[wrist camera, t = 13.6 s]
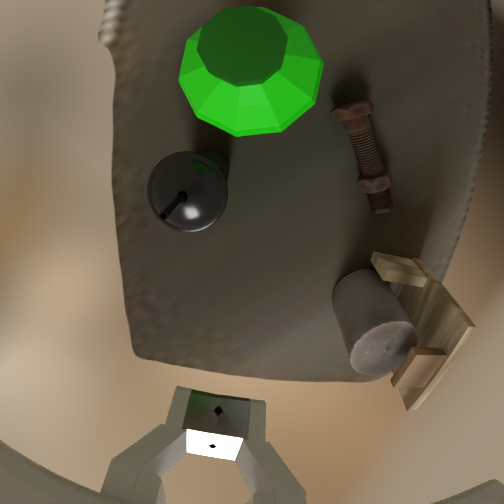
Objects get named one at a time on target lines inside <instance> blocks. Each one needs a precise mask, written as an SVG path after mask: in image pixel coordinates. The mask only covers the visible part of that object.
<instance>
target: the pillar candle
mask: <svg viewBox="0 0 504 504" xmlns="http://www.w3.org/2000/svg"><path fill="white" fill-rule="evenodd" d="M332 303H333V309H334V312H335V315H336V317H337V320H338V323H339V327H340V330H341V333H342V336H343V339H344V342H345V345H346V349H347V352H348V355H349V358H350V362H351V365H352V367H353V368H354V369H355V370H356V371H357V372H359V373H361V374H365V375H370V376H371V375H381V374H384V373H387V372H390V371H392V370H394V369H396V368H398V367H399V366H400V365H401V363H402V362H403V360H404V359H405V357H406V355H407V354H408V352H409V351H410V349H411V347H416V346H417V343H418V335H417V331H416V329H415V327H414V326H413V324H412V322H411V321H410V319H409V317H408V316H407V314H406V312H405V311H404V309H403V308H402V306H401V304H400V303H399V301H398V300H397V298H396V296H395V295H394V293H393V292H392V290H391V289H390V287H389V286H388V284H387V282H386V281H384V280H382V278H381V276H380V275H379V273H378V272H376V271H373V270H370V269H361V270H357V271H355V272H353V273H350V274H349V275H347V276H345V277H344V278H342V279H341V280H340V281H339V282H338V283H337V285H336V287H335V289H334V291H333V295H332Z"/></svg>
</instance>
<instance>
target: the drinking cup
mask: <svg viewBox="0 0 504 504" xmlns="http://www.w3.org/2000/svg"><path fill="white" fill-rule="evenodd" d="M228 174H229V164H228V161H227V159H226V158H225V157H224V156H223V155H222V154H220V153H218V152H216V151H205V152H197V153H196V152H190V151H183V152H177V153H174V154H171V155H169V156H167V157H165V158H164V159H162V160H161V161H160V162H159V163H158V164H157V165H156V166H155V167H154V169H153V171H152V172H151V174H150V177H149V180H148V185H147V196H148V201H149V204H150V207H151V209H152V211H153V212H154V214H155V215H156V217H157V218H158V219H159V220H160V221H161V222H162V223H163V224H165V225H166V226H168V227H170V228H172V229H174V230H177V231H181V232H197V231H201V230H204V229H206V228H208V227H210V226H211V225H213V224H214V223H215V222H216V221H217V220H218V219H219V218H220V216H221V215H222V213H223V211H224V209H225V207H226V203H227V199H228V187H227V180H228Z"/></svg>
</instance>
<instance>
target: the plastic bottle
mask: <svg viewBox="0 0 504 504" xmlns="http://www.w3.org/2000/svg"><path fill="white" fill-rule="evenodd" d="M323 65H324V63H323V61H322V59H321V57H320V55H319V53H318V51H317V49H316V47H315V46H314V44H313V42H312V40H311V38H310V36H309V35H308V33H307V31H306V29H305V27H304V26H302V25H300V24H298V23H296V22H294V21H292V20H290V19H288V18H286V17H284V16H282V15H280V14H278V13H276V12H274V11H271V10H269V9H267V8H264V7H253V6H251V5H250V6H242V7H234V8H227V9H222V10H221V11H220V12H219V13H217V14H216V15H215V16H214V17H212V18H211V19H210V20H209V21H208V22H206V23H205V24H204V25H203V26H202V27H201V28H200V29H199V30H198V31H197V32H195V33H194V34H193V35H192V36H191V37H190V38H189V39H188V40H187V42H186V46H185V51H184V55H183V60H182V64H181V69H180V74H179V79H178V82H179V84H180V86H181V87H182V89H183V91H184V93H185V95H186V97H187V99H188V101H189V103H190V105H191V107H192V109H193V111H194V113H195V115H196V117H197V118H199V119H202V120H204V121H206V122H208V123H210V124H212V125H214V126H216V127H218V128H220V129H222V130H224V131H226V132H228V133H230V134H232V135H234V136H236V137H239V136H246V135H255V134H264V133H274V132H282V131H283V130H284V129H285V128H287V127H288V126H289V125H290V124H291V123H292V122H294V121H295V120H296V119H297V118H298V117H300V116H301V115H302V114H303V113H304V112H306V111H307V110H308V109H309V108H311V107H312V106H313V105H314V104H315V102H316V97H317V93H318V88H319V84H320V79H321V74H322V69H323Z"/></svg>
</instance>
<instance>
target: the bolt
mask: <svg viewBox="0 0 504 504" xmlns="http://www.w3.org/2000/svg"><path fill="white" fill-rule="evenodd" d="M373 110H374V107H373V104H372V101H371V100H369V99H366V100H360V101H356V102H352V103H349V104H345V105H342V106H339V107H336V108H334V109H332V110H331V116H332V119H333V122H338V121H343V123H344V126H345V128H346V131H347V132H348V134H349V136H350V137H349V138H351V139H350V140H351V141H352V142H351V143H353V144H352V146H353V148H354V151H355V153H356V154H355V155H356V158H357V160H358V164H359V167H360V170H361V174H360V175H359V176H358V185H359V189H360V190H361V191H363V192H366V193H367V195H368V197H369V202H370V206H371V210H372V211H374V213H376V214H380V213H385V212H389V211H391V209H392V208H393V203H392V199H391V195H390V190H389V187H390V186H391V185H392V176H391V172H390V170H388V169H386V168H384V167H383V164H382V161H381V157H380V154H379V150H378V147H377V144H376V142H375V137H374V134H373V132H372V131H373V130H372V127H371V122H370V119H369V116H368V114H370V113H372V112H373Z"/></svg>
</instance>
